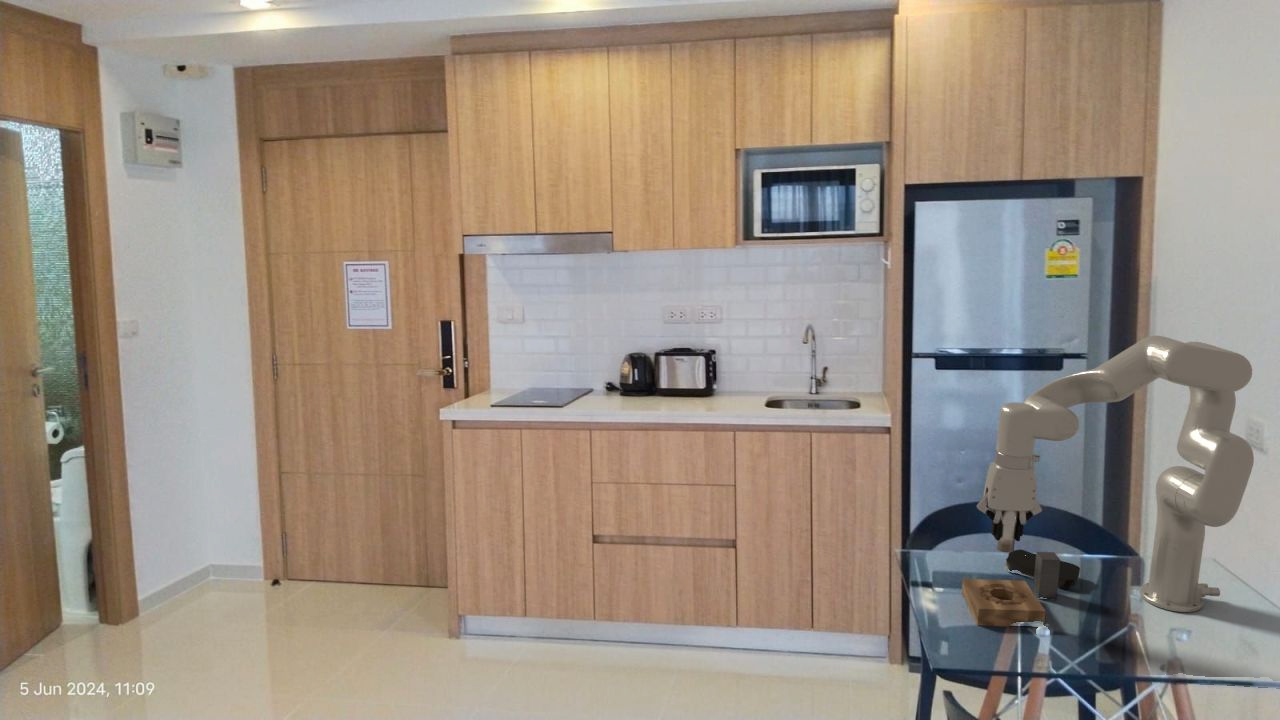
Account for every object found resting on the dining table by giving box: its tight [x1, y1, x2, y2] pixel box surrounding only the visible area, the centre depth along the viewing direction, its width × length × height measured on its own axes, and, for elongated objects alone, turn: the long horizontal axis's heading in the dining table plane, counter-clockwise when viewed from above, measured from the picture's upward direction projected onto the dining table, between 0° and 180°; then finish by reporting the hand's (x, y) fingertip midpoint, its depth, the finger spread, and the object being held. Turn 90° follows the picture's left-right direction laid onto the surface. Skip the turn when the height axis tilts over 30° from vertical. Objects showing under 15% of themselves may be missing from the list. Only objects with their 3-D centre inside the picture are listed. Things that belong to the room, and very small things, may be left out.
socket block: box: [961, 578, 1046, 627], centre depth 202 cm, size 14×14×4 cm
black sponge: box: [1005, 549, 1081, 590], centre depth 219 cm, size 16×8×4 cm, turn 46°
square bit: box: [1032, 551, 1061, 601], centre depth 208 cm, size 4×4×10 cm
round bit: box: [995, 511, 1018, 554], centre depth 198 cm, size 4×4×10 cm
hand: (1006, 537), depth 198 cm, fingers closed on round bit, 3 cm apart
